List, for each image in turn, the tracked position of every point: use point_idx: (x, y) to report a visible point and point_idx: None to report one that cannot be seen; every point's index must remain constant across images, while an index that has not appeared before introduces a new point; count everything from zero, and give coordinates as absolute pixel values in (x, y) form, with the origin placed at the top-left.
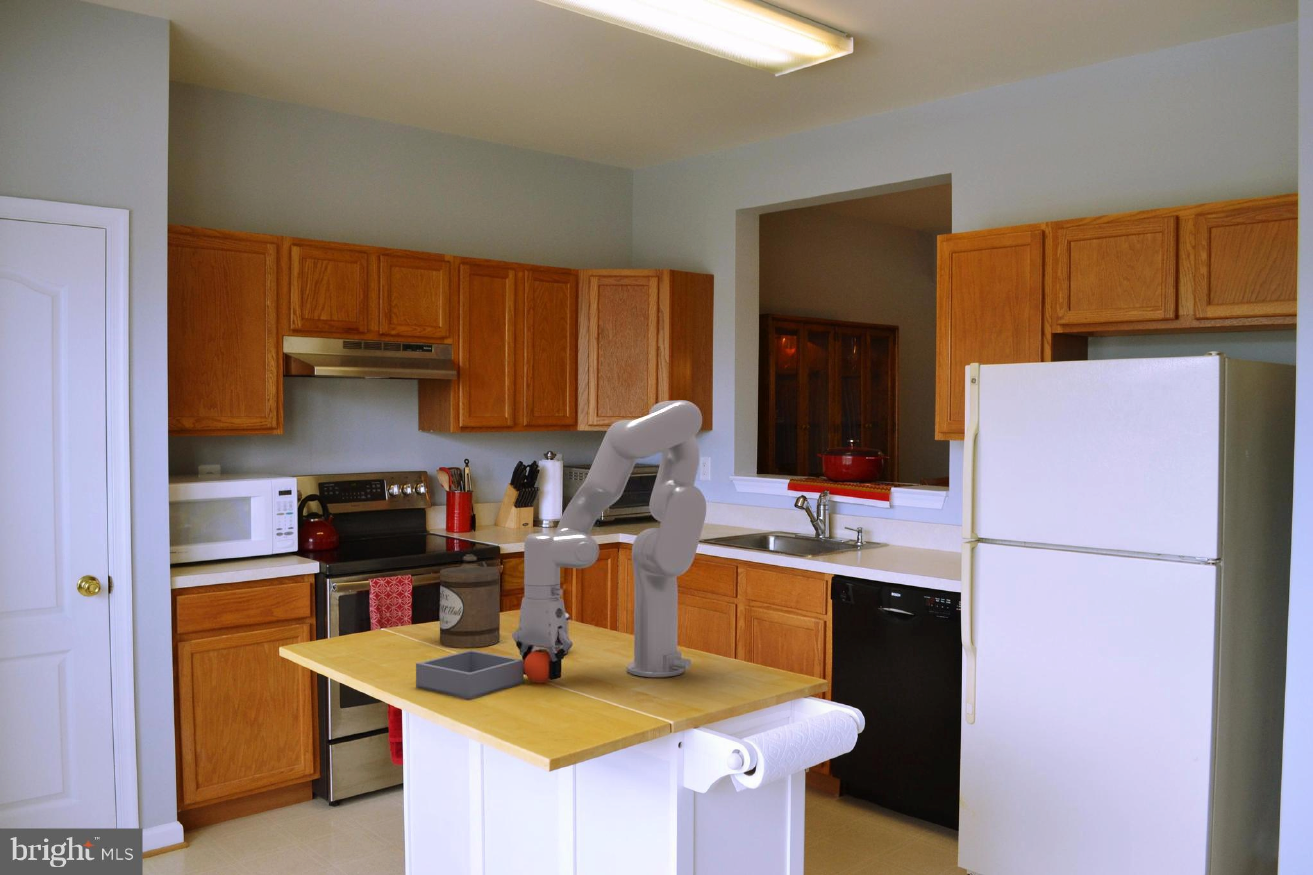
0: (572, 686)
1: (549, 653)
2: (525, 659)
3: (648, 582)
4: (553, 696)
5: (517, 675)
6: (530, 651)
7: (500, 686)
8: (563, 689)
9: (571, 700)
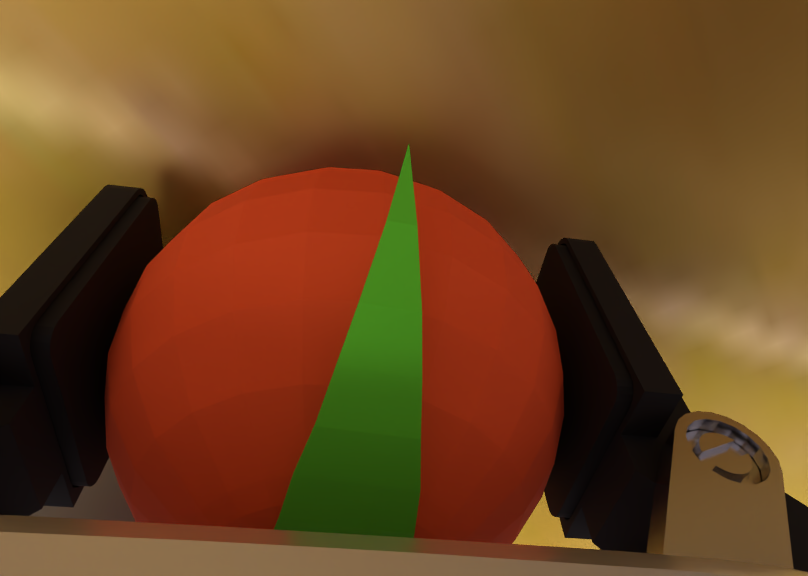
0: (721, 237)
1: (491, 511)
2: None
3: None
4: None
5: None
6: (4, 443)
7: None
8: (666, 343)
9: (801, 497)
